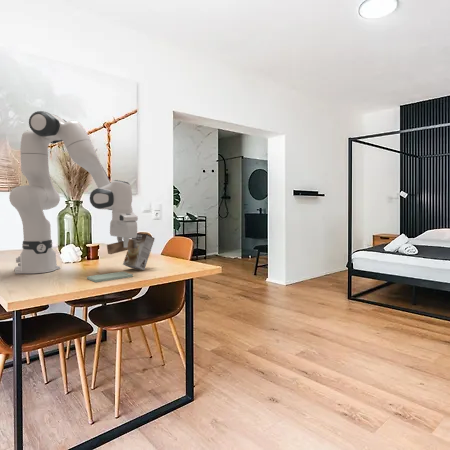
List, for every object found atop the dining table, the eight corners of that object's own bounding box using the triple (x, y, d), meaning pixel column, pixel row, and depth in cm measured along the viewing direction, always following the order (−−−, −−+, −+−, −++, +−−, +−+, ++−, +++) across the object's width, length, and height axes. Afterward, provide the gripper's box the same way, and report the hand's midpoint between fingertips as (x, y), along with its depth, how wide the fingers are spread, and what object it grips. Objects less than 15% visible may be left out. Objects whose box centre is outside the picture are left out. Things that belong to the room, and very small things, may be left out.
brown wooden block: (113, 254, 154) (112, 245, 154) (105, 253, 158) (104, 244, 158) (137, 248, 164) (136, 239, 163) (130, 247, 168) (129, 238, 167)
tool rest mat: (86, 278, 147) (86, 276, 147) (123, 273, 158) (123, 271, 158) (95, 282, 141) (95, 279, 140) (132, 276, 151) (132, 274, 151)
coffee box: (121, 264, 166) (132, 232, 171) (131, 268, 171) (141, 237, 176) (135, 266, 161) (146, 233, 166) (145, 270, 166) (155, 238, 171)
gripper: (106, 216, 166) (106, 245, 167) (126, 217, 151) (126, 249, 152) (118, 215, 170) (119, 244, 171) (139, 216, 155) (140, 248, 156)
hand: (123, 247), depth 161 cm, fingers closed on brown wooden block, 3 cm apart
